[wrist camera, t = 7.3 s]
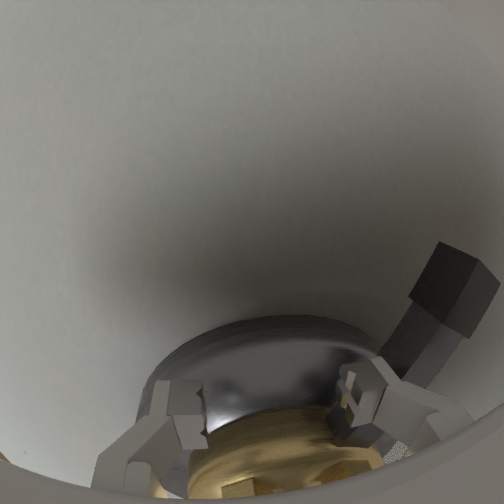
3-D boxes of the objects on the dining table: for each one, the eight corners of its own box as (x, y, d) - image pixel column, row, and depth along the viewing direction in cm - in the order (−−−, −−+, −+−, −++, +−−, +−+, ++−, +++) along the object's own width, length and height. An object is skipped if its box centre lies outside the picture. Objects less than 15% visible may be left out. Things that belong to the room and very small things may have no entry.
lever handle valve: (302, 501, 15) (315, 545, 11) (165, 483, 13) (162, 540, 9) (491, 291, 11) (545, 327, 7) (361, 184, 9) (451, 205, 5)
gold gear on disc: (424, 381, 17) (495, 470, 8) (276, 492, 19) (295, 577, 10) (258, 248, 12) (349, 439, 3) (102, 429, 15) (72, 547, 6)
